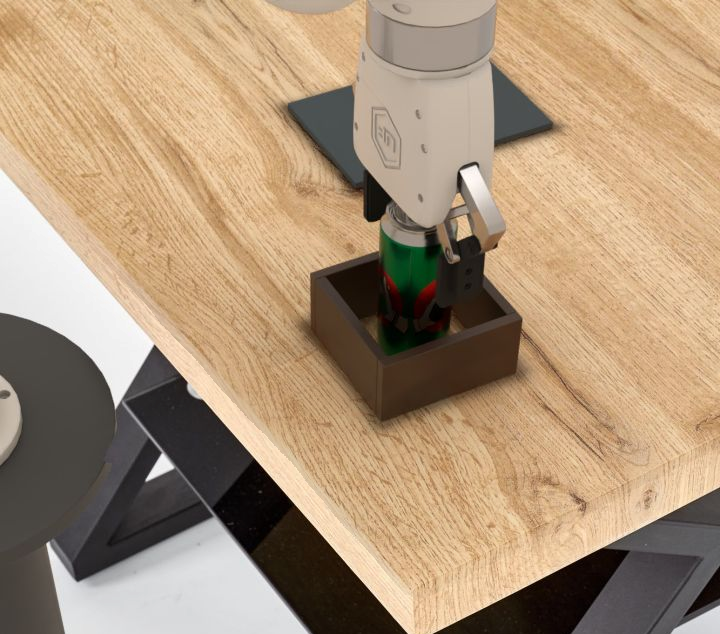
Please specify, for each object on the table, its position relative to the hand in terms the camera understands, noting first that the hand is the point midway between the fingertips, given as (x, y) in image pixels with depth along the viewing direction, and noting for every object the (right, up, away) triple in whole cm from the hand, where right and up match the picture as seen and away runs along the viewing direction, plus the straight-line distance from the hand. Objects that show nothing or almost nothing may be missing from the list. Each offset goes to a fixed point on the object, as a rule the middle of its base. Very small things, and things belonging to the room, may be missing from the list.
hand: (421, 255), depth 104 cm
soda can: (0, -6, +6) cm, 9 cm away
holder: (0, -5, +6) cm, 8 cm away
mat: (+1, +16, +24) cm, 29 cm away
